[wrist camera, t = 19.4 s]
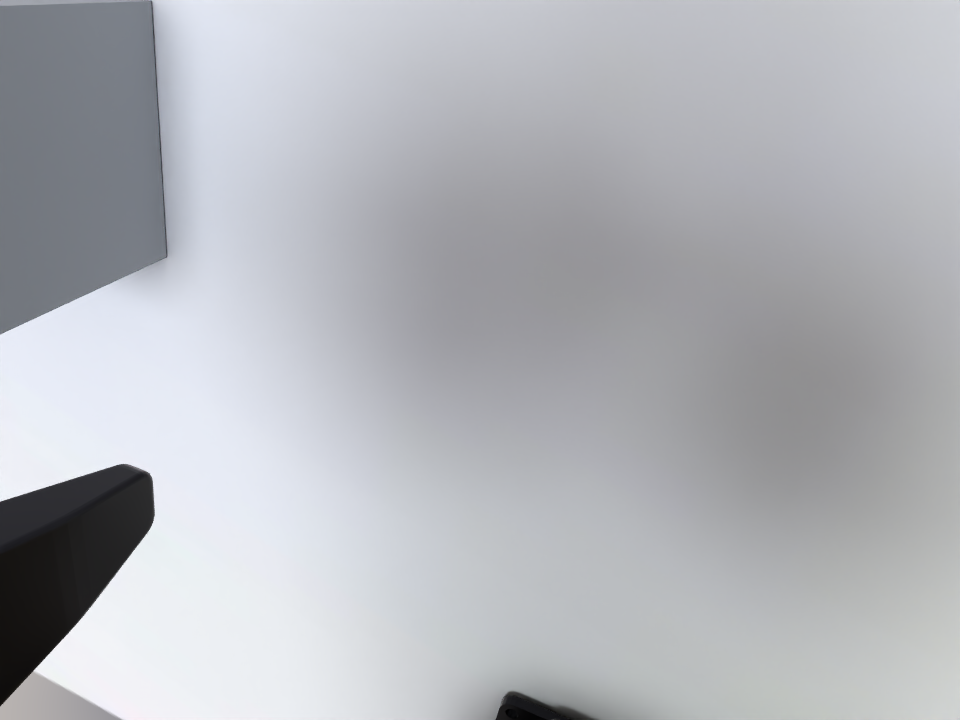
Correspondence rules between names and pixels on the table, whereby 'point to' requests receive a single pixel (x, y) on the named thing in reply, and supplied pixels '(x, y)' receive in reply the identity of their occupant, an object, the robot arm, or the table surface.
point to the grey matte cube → (76, 151)
